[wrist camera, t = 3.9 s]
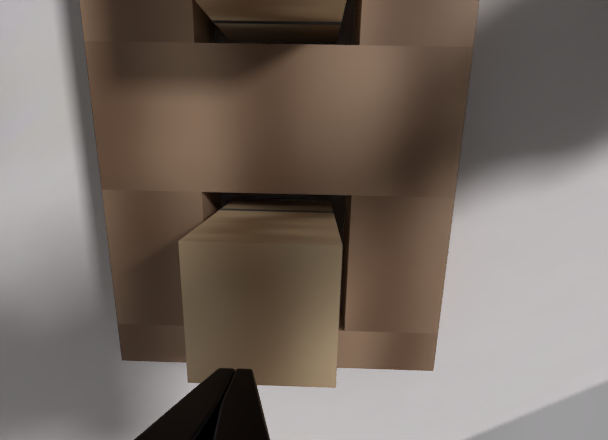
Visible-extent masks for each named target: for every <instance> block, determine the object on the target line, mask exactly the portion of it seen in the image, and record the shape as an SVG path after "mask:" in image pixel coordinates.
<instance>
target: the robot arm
mask: <svg viewBox="0 0 608 440" xmlns="http://www.w3.org/2000/svg"><path fill="white" fill-rule="evenodd" d="M134 440H270V438H269V433H268V429H267V425H266V421H265V417H264V413H263V409H262V405H261V401H260V397H259V393H258V389H257V385H256V381H255V377H254V373H253V370H252V369H244V368H238V369H236V370H235V369H234V368H218V369H217V370H216V371H214V372H213V373H212V374H211V375H210V376H209V377H207V378H206V379H205V380H204V381H203V382H202V383H200V384H199V385H198V386H197V387H196V388H194V389H193V390H192V391H191V392H190V393H189V394H187V395H186V396H185V397H184V398H183V399H181V400H180V401H179V402H178V403H177V404H176V405H174V406H173V407H172V408H171V409H170V410H168V411H167V412H166V413H165V414H164V415H163V416H161V417H160V418H159V419H158V420H157V421H156V422H154V423H153V424H152V425H151V426H150V427H148V428H147V429H146V430H145V431H144V432H143V433H141V434H140V435H139V436H138V437H137V438H135V439H134Z"/></svg>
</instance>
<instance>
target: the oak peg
mask: <svg viewBox="0 0 608 440" xmlns="http://www.w3.org/2000/svg"><path fill="white" fill-rule="evenodd" d="M178 244H179V259H180V274H181V288H182V303H183V317H184V332H185V347H186V361H187V376H188V383H202V382H203V381H204V380H205V379H206V378H207V377H209V376H210V375H211V374H212V373H213V372H214V371H216V370H217V369H218V368H234V369H235V370H236V369H238V368H244V369H252V370H253V373H254V377H255V381H256V385H273V386H302V387H331V388H336V371H337V350H338V330H339V309H340V288H341V268H342V247H343V245H342V242H341V238H340V235H339V231H338V227H337V224H336V220H335V217H334V211H333V210H332V206H331V203H330V201H321V200H279V199H238V198H235V199H233V200H232V201H231V202H229V203H228V204H227V205H225V206H224V207H223V208H220V209H219V211H217V212H216V213H215V214H213V215H212V216H211V217H209V218H208V219H207V220H206V221H204V222H203V223H202V224H200V225H199V226H198V227H196V228H195V229H194V230H192V231H191V232H190V233H188V234H187V235H186V236H184V237H183V238H182V239H180V240H179V241H178Z"/></svg>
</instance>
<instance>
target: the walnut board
mask: <svg viewBox="0 0 608 440" xmlns="http://www.w3.org/2000/svg"><path fill="white" fill-rule="evenodd" d="M79 1H80V10H81V18H82V26H83V35H84V43H85V52H86V60H87V69H88V77H89V86H90V94H91V103H92V111H93V119H94V128H95V136H96V145H97V153H98V162H99V170H100V179H101V187H102V195H103V204H104V212H105V221H106V229H107V238H108V246H109V255H110V263H111V272H112V280H113V288H114V297H115V305H116V314H117V322H118V331H119V339H120V348H121V356H122V360H128V361H158V362H187V361H186V347H185V332H184V317H183V303H182V288H181V274H180V259H179V244H178V241H179V240H180V239H182V238H183V237H184V236H186V235H187V234H188V233H190V232H191V231H192V230H194V229H195V228H196V227H198V226H199V225H200V224H202V223H203V222H204V221H206V220H207V219H208V218H209V217H211V216H212V215H213V214H215V213H216V212H217V211H219V209H220V192H228V193H270V194H312V195H345V207H344V228H343V249H342V269H341V290H340V309H339V330H338V350H337V368H365V369H395V370H425V371H433V369H434V361H435V353H436V345H437V337H438V328H439V320H440V312H441V304H442V296H443V288H444V280H445V272H446V264H447V256H448V248H449V240H450V232H451V224H452V216H453V208H454V199H455V191H456V183H457V175H458V167H459V159H460V151H461V143H462V135H463V127H464V119H465V111H466V103H467V95H468V87H469V79H470V70H471V62H472V54H473V46H474V38H475V30H476V22H477V14H478V6H479V0H355V1H354V22H353V42H352V45H312V44H246V43H214V27H213V23H215V25H216V26H217V27H218V28H219V29H220V31H221V32H222V33H223V34H224V35H225V36H226V38H227V39H228V40H229V41H230V42H263V43H329V44H336V42H337V38H338V33H339V29H340V25H341V24H342V17H343V13H344V9H345V5H346V1H347V0H79Z"/></svg>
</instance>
